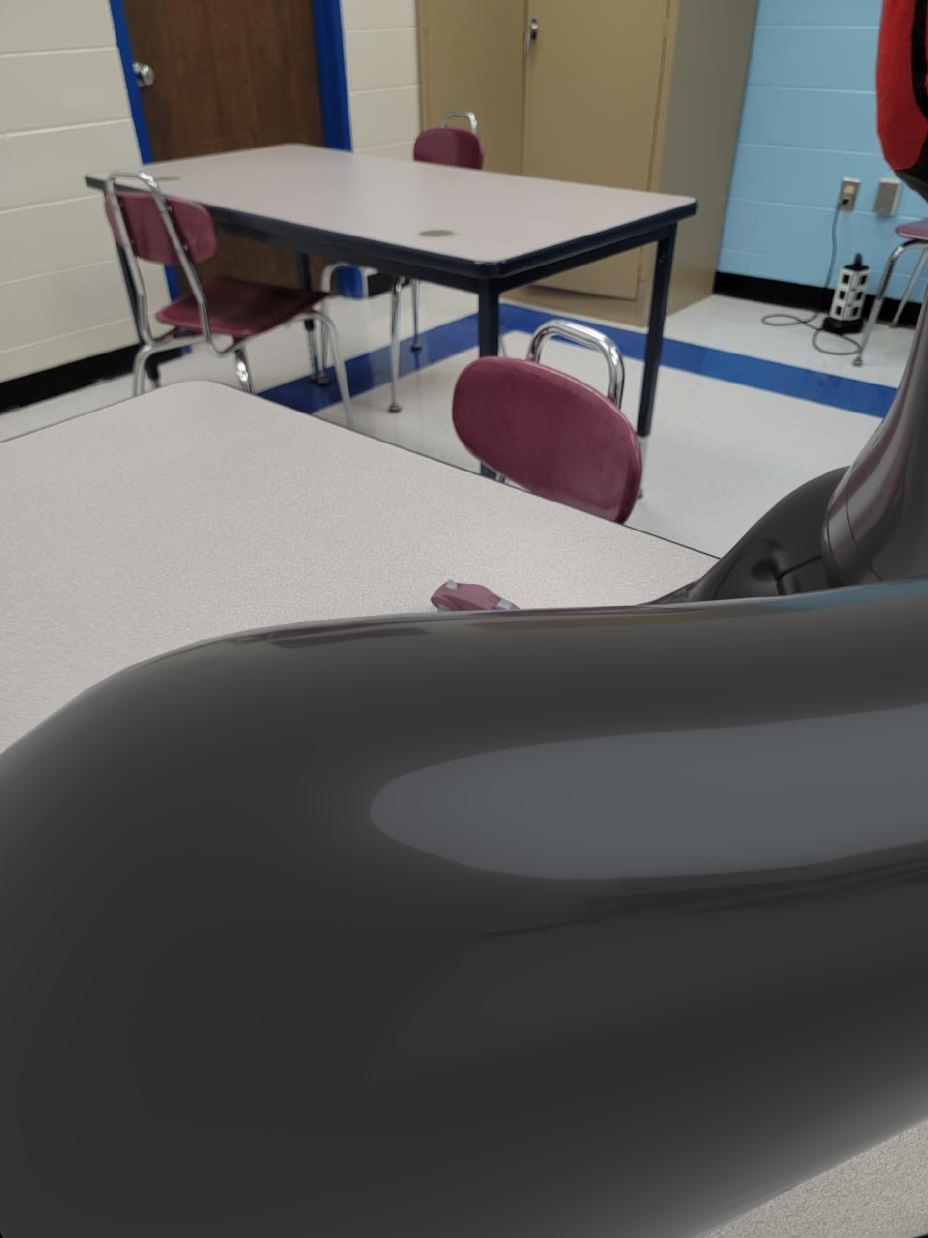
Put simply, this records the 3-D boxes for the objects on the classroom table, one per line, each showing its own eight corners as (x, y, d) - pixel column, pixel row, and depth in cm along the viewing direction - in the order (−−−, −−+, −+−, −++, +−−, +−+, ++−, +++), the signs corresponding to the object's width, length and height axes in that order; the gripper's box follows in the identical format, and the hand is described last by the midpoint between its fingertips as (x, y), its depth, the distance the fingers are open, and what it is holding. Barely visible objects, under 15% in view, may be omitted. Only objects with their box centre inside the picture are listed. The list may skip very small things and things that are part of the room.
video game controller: (439, 631, 91) (417, 595, 85) (462, 595, 92) (441, 557, 86) (523, 665, 86) (505, 628, 80) (545, 626, 87) (530, 588, 82)
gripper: (581, 795, 49) (448, 822, 62) (734, 679, 56) (586, 725, 70) (513, 673, 49) (395, 727, 63) (675, 574, 57) (538, 641, 70)
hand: (496, 726), depth 66 cm, fingers open, 8 cm apart
